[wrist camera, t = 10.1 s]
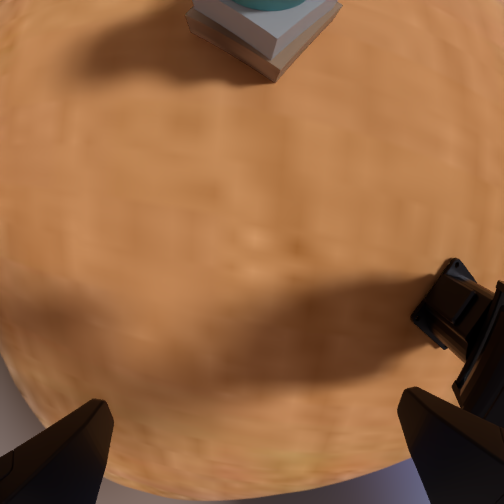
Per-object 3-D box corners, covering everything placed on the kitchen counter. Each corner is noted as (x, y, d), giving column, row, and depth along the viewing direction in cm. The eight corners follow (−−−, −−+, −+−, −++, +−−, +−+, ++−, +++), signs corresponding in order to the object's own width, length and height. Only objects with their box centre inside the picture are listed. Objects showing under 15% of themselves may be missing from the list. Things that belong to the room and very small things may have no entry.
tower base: (330, 23, 16) (342, 5, 13) (274, 84, 17) (280, 70, 14) (252, -22, 15) (254, -44, 12) (191, 34, 16) (184, 14, 13)
